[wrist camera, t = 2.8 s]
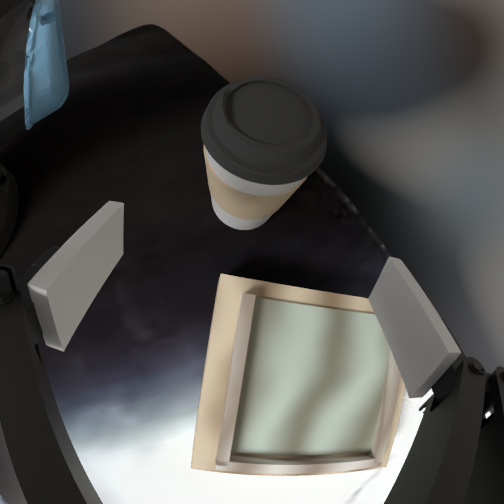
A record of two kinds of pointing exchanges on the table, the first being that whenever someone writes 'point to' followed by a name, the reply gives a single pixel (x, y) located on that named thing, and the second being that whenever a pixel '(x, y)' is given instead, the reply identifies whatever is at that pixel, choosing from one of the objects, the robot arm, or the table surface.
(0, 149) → the table surface
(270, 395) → the tray
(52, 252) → the robot arm
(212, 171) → the coffee cup
